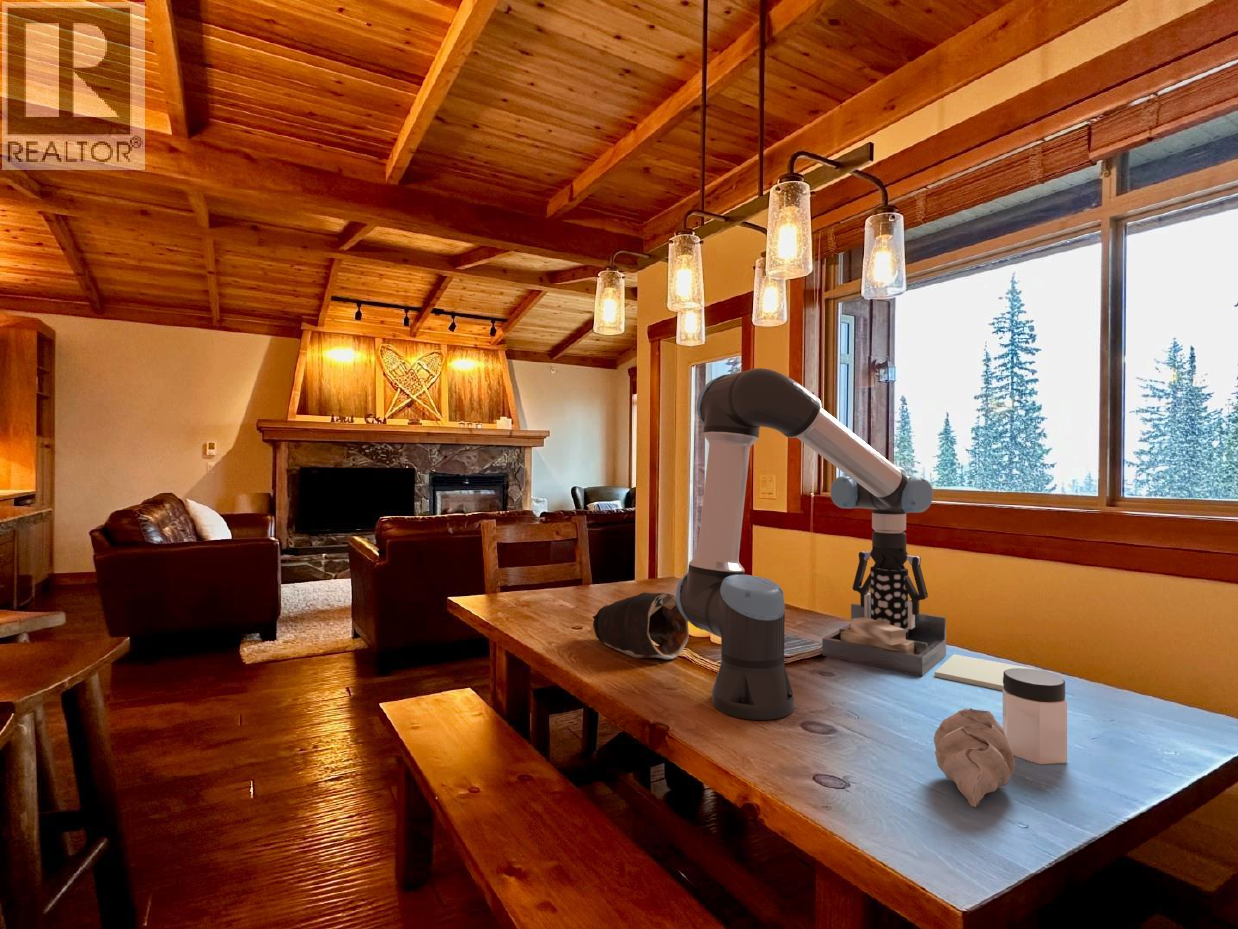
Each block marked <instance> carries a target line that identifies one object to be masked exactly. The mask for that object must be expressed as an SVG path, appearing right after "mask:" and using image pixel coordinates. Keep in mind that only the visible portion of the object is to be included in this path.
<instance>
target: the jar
mask: <svg viewBox="0 0 1238 929" xmlns="http://www.w3.org/2000/svg"><path fill="white" fill-rule="evenodd" d="M1034 669H1035V668H1033V669H1025V668H1012V669H1007V670H1005V671H1004V673H1003V691H1002V728H1003V730H1004V733H1005V735H1006V738H1007V740H1008V744H1009V746H1010V749H1011V751H1012V753H1013V756H1014V757H1016V758H1019V759H1022V760H1024V761H1027V762H1031V763H1032V764H1033V763H1034V764H1036V765H1052V764H1053V765H1055V764H1067V763H1068V702H1067V701H1066V680H1064V678H1062V677H1061V676H1058V675H1056V674H1054V673H1052V672H1048V671H1044V670H1038V669H1036V670H1034Z"/></svg>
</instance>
